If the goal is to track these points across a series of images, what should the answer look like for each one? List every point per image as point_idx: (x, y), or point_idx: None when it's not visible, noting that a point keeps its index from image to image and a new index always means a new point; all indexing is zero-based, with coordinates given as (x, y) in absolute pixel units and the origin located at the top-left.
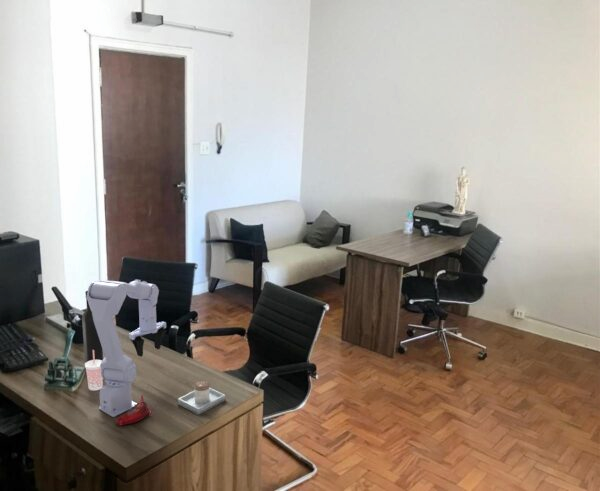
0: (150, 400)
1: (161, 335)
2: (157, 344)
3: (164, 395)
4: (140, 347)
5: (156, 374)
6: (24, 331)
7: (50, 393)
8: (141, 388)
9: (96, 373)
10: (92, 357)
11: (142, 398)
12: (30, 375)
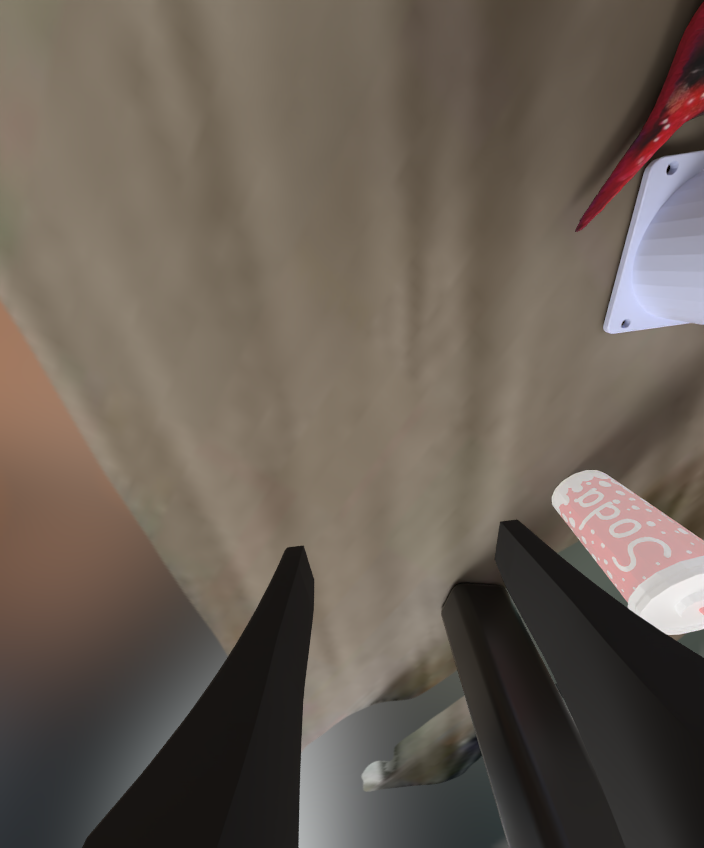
0: (543, 170)
1: (226, 781)
2: (299, 605)
3: (436, 161)
4: (646, 626)
5: (323, 436)
6: (456, 761)
7: None
8: (469, 357)
9: (687, 533)
10: (524, 646)
11: (627, 167)
12: None
